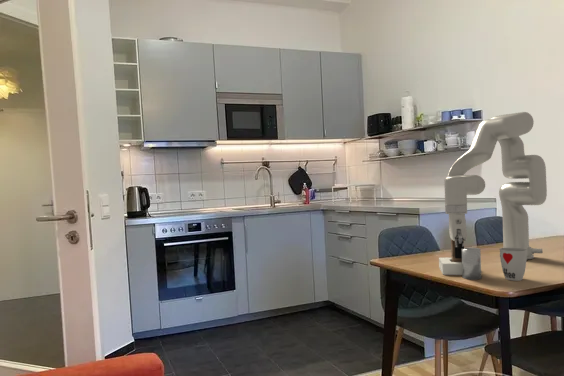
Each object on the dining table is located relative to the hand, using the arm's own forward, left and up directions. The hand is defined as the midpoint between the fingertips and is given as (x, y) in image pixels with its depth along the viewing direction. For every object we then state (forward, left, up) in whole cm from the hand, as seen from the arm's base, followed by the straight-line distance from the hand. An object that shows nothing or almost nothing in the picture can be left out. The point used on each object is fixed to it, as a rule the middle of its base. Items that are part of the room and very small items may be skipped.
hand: (457, 255), depth 160 cm
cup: (-16, +11, -6) cm, 20 cm away
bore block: (0, 0, -6) cm, 6 cm away
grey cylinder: (-3, +10, -6) cm, 12 cm away
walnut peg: (0, 0, -6) cm, 6 cm away
